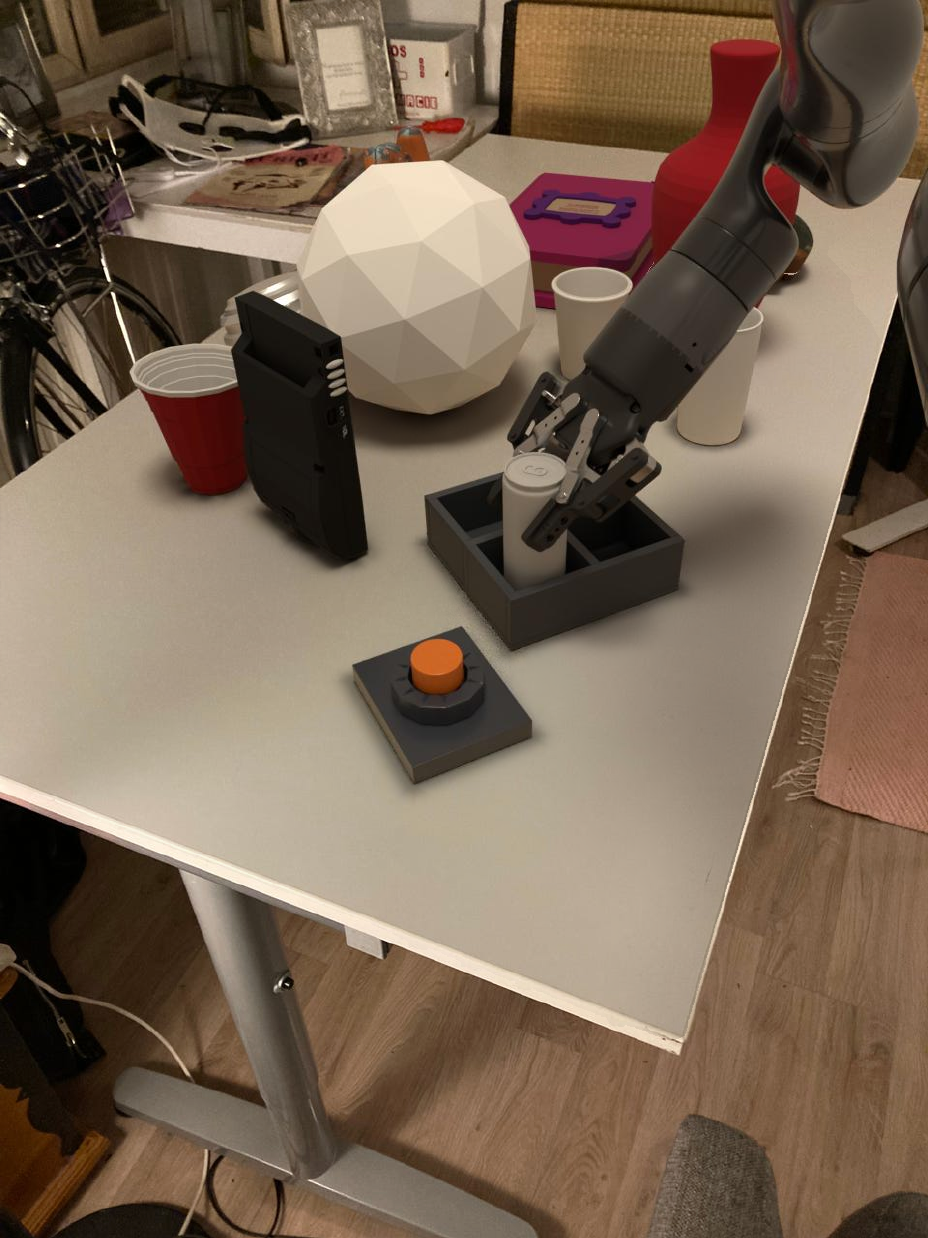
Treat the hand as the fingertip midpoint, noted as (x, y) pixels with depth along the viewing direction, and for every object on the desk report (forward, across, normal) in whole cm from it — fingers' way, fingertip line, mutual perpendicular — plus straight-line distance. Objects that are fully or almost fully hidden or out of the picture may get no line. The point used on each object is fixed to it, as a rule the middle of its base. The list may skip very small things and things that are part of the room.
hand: (513, 525), depth 72 cm
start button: (+11, +7, -3) cm, 13 cm away
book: (-22, -58, +35) cm, 71 cm away
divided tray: (+2, -4, +10) cm, 11 cm away
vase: (-23, -31, +35) cm, 52 cm away
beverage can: (+4, 0, +7) cm, 8 cm away
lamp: (+3, -39, +9) cm, 40 cm away
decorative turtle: (-36, -43, +49) cm, 74 cm away
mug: (-15, -17, +28) cm, 36 cm away
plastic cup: (+17, -31, -5) cm, 36 cm away
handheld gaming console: (+14, -18, -2) cm, 22 cm away
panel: (+13, +7, -1) cm, 14 cm away
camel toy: (-10, -70, +22) cm, 74 cm away
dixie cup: (-12, -32, +25) cm, 42 cm away
